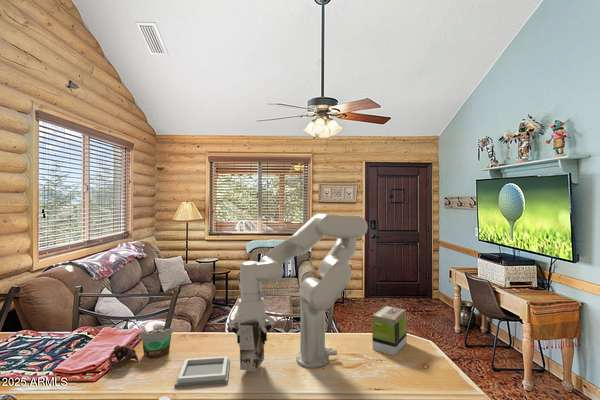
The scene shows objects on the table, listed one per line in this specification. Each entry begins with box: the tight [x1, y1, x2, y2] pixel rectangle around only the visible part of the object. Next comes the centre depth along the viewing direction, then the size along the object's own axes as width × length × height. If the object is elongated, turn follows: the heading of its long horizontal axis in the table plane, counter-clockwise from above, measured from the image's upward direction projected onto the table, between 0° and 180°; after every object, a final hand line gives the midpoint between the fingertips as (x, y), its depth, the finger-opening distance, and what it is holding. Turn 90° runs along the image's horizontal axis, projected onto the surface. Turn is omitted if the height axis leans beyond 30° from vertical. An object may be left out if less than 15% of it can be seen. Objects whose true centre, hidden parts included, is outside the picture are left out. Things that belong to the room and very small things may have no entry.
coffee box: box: [239, 322, 265, 372], centre depth 117 cm, size 9×6×16 cm
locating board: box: [173, 355, 231, 389], centre depth 114 cm, size 17×15×2 cm
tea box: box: [371, 305, 408, 356], centre depth 137 cm, size 15×10×15 cm, turn 144°
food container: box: [139, 326, 174, 360], centre depth 127 cm, size 12×6×10 cm, turn 117°
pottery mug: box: [108, 344, 139, 372], centre depth 120 cm, size 12×10×8 cm
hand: (252, 343), depth 117 cm, fingers closed on coffee box, 8 cm apart
